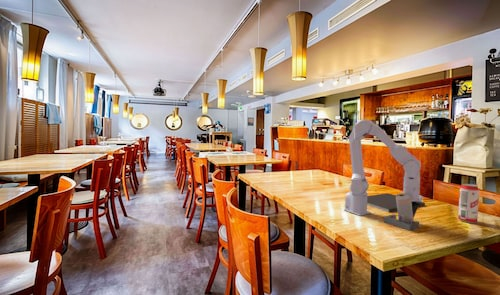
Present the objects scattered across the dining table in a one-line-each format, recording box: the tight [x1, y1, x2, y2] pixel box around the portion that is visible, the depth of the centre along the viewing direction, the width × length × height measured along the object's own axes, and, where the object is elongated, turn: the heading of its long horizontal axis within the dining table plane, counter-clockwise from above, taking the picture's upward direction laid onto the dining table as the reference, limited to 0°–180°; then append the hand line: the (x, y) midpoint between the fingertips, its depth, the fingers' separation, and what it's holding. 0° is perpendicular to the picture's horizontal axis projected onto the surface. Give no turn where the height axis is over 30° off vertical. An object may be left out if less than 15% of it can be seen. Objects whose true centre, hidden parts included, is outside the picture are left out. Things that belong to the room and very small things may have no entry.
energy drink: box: [395, 192, 415, 223], centre depth 101 cm, size 5×5×12 cm
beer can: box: [457, 183, 480, 224], centre depth 106 cm, size 6×6×16 cm
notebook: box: [367, 192, 426, 213], centre depth 133 cm, size 22×2×28 cm
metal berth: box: [383, 213, 420, 232], centre depth 101 cm, size 10×7×2 cm, turn 29°
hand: (410, 218), depth 104 cm, fingers closed
